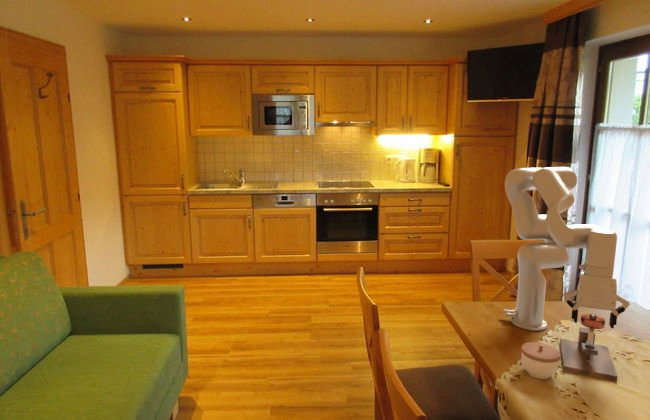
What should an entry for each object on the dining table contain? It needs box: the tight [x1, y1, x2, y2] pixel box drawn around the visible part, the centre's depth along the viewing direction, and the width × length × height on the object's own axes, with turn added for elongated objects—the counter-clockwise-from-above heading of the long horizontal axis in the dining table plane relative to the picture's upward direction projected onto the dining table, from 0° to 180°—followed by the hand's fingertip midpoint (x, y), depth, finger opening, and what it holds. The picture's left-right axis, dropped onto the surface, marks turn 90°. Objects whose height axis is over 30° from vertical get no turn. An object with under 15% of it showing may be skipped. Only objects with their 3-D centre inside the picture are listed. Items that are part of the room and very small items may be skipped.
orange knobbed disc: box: [579, 313, 606, 360], centre depth 138 cm, size 6×6×14 cm
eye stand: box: [559, 326, 619, 382], centre depth 143 cm, size 14×20×8 cm
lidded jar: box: [520, 341, 562, 380], centre depth 135 cm, size 11×11×9 cm
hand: (593, 323), depth 137 cm, fingers open, 9 cm apart
